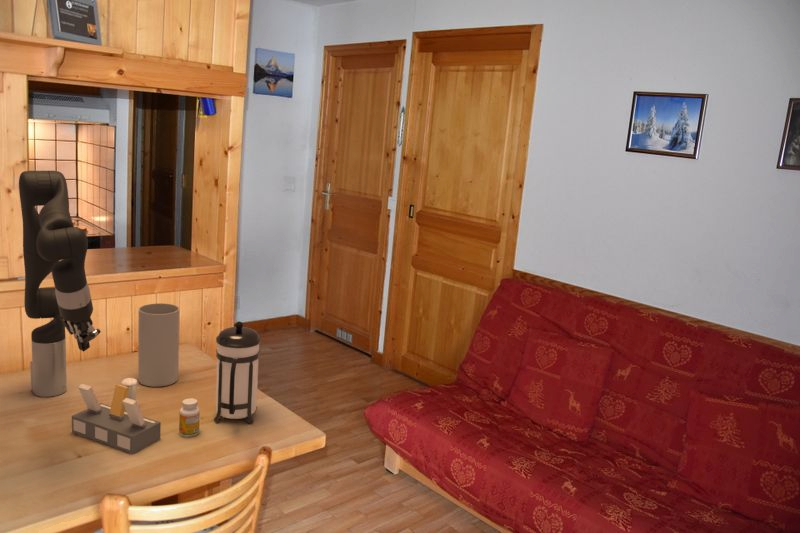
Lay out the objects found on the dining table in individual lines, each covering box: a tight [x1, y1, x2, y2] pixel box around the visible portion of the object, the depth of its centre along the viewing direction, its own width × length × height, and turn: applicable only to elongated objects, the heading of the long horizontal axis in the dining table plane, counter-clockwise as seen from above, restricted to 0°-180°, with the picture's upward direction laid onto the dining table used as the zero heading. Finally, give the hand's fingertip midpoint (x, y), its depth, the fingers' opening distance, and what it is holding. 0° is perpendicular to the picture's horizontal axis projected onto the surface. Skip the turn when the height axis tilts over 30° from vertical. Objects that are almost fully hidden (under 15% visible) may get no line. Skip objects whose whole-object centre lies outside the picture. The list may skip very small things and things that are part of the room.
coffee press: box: [213, 321, 262, 425], centre depth 194 cm, size 17×16×30 cm
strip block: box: [71, 402, 162, 455], centre depth 180 cm, size 22×10×5 cm, turn 67°
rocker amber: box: [109, 384, 129, 420], centre depth 180 cm, size 4×1×9 cm, turn 67°
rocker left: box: [77, 383, 102, 413], centre depth 180 cm, size 4×1×9 cm, turn 67°
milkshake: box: [120, 377, 139, 401], centre depth 197 cm, size 4×5×10 cm
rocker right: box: [122, 398, 146, 428], centre depth 174 cm, size 4×1×9 cm, turn 67°
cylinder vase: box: [137, 302, 180, 388], centre depth 216 cm, size 12×12×25 cm
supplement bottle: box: [178, 397, 201, 438], centre depth 185 cm, size 5×5×10 cm
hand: (84, 348), depth 171 cm, fingers closed
